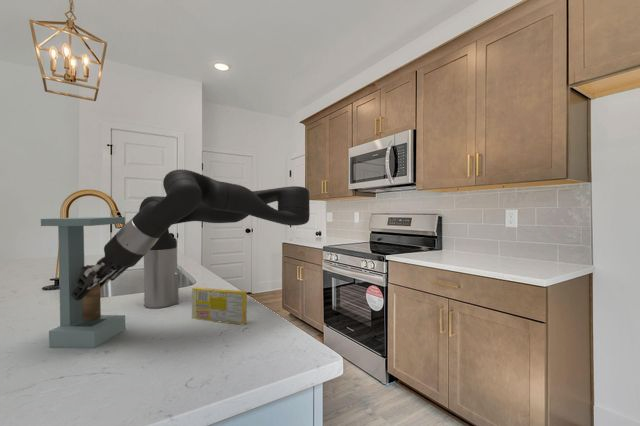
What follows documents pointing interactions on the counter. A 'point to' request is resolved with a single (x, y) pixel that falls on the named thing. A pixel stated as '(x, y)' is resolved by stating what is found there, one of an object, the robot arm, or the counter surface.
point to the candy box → (219, 305)
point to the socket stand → (70, 264)
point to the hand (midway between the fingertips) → (82, 294)
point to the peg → (91, 303)
